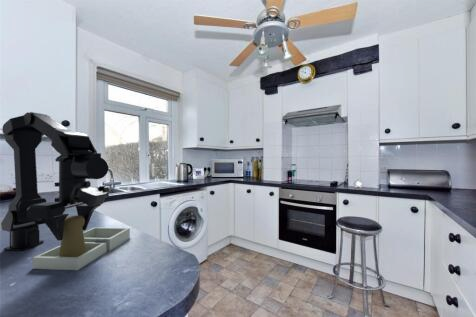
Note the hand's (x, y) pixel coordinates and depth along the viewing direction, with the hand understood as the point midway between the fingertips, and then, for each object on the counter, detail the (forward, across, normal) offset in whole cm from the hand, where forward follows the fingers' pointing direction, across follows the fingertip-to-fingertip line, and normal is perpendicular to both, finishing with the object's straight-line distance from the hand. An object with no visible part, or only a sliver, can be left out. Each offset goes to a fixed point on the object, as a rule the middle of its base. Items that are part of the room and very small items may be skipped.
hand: (72, 234), depth 56 cm
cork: (+6, 0, 0) cm, 6 cm away
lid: (+7, 0, 0) cm, 7 cm away
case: (+7, +11, 0) cm, 13 cm away
